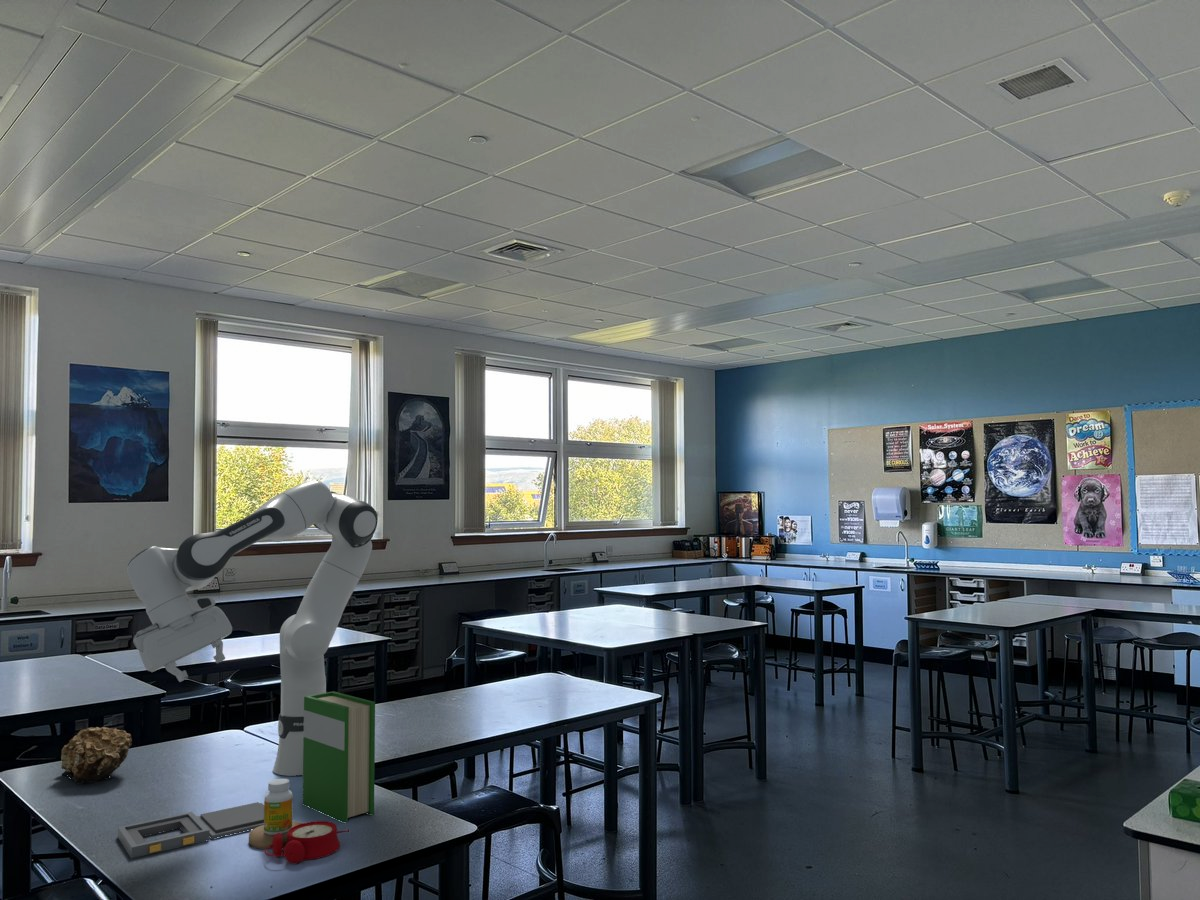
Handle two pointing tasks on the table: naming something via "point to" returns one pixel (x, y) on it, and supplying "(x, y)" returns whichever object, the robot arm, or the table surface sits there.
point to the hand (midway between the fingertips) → (203, 670)
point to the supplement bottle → (278, 807)
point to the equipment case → (190, 828)
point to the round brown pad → (266, 837)
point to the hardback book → (339, 754)
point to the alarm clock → (307, 841)
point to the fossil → (95, 754)
